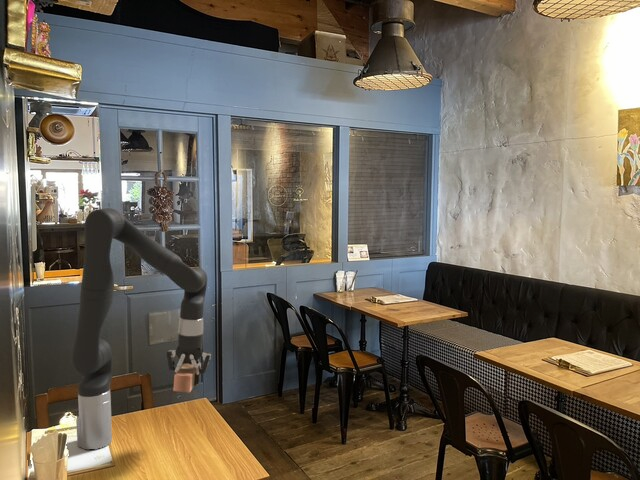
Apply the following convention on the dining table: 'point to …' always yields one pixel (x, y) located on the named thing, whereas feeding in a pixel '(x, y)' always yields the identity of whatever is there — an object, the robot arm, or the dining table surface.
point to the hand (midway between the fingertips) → (187, 383)
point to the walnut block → (184, 378)
